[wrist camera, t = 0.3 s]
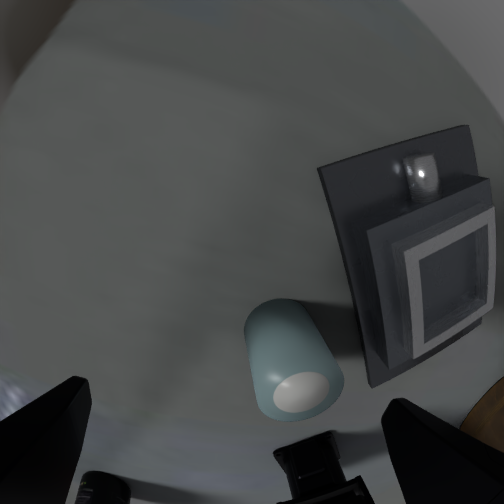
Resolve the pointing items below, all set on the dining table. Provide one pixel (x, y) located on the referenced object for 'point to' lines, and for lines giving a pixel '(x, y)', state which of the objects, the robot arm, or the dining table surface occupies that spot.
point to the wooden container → (488, 418)
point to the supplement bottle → (102, 489)
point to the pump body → (290, 362)
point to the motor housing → (414, 246)
